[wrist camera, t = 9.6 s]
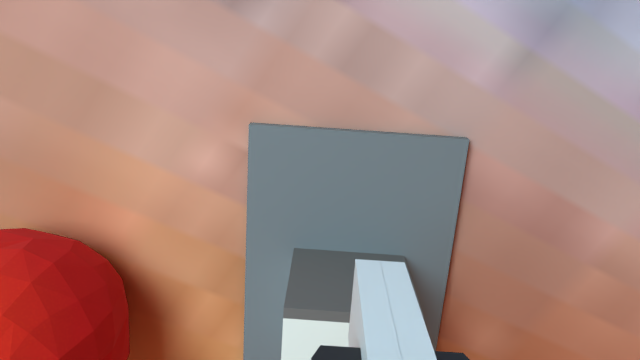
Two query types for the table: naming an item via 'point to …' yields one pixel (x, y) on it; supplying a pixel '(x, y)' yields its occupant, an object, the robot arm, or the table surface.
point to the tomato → (59, 300)
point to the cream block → (321, 300)
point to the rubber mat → (346, 212)
